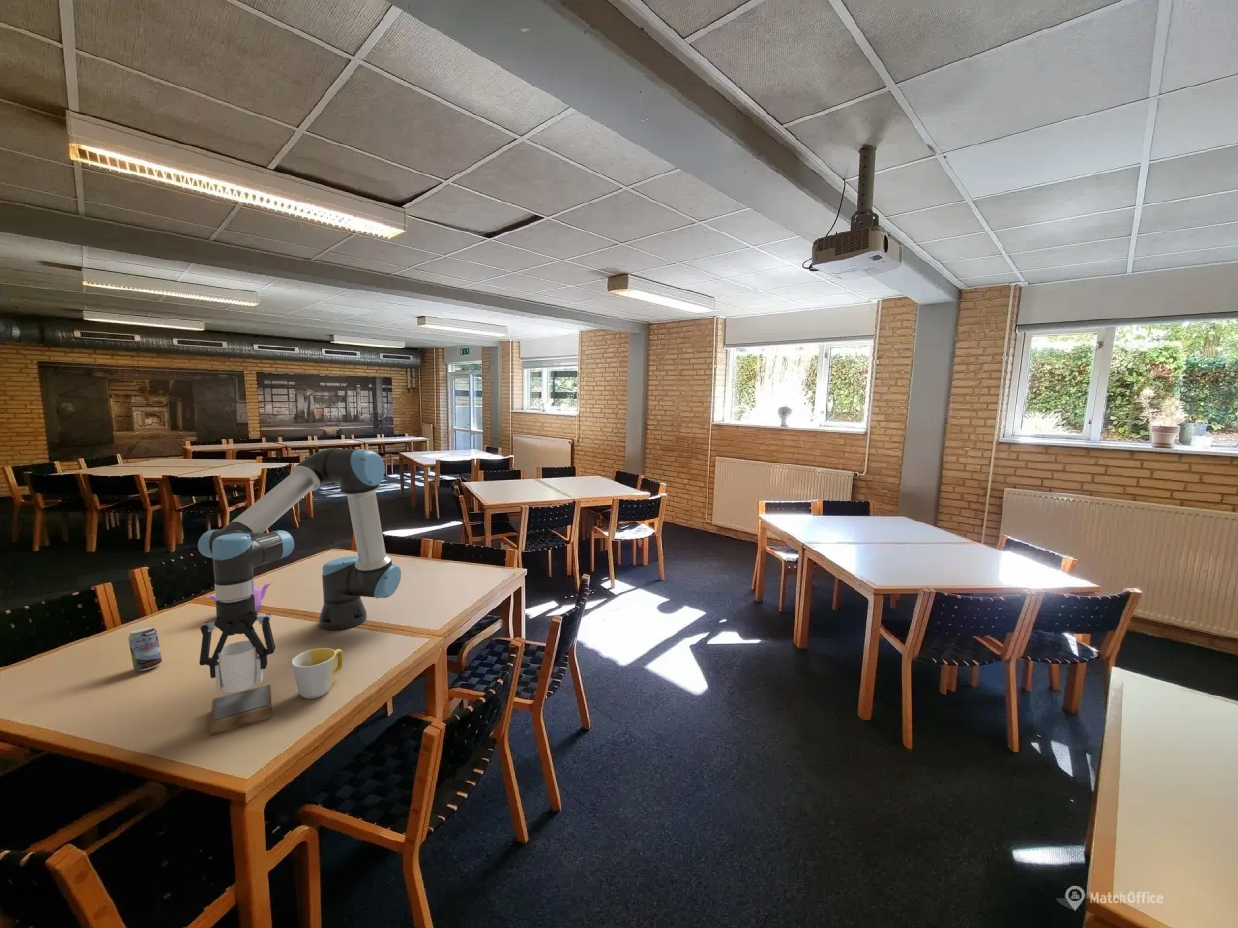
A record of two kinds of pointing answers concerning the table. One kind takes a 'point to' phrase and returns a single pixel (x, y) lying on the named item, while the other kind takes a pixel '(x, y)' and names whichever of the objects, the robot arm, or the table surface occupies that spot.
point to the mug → (316, 671)
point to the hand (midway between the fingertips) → (240, 684)
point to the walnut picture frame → (240, 709)
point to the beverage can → (145, 648)
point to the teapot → (257, 596)
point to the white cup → (238, 666)
